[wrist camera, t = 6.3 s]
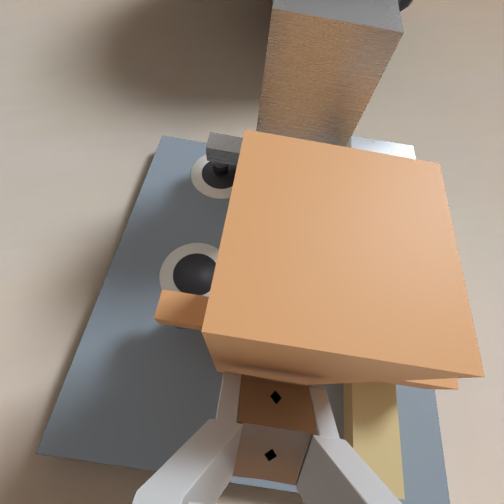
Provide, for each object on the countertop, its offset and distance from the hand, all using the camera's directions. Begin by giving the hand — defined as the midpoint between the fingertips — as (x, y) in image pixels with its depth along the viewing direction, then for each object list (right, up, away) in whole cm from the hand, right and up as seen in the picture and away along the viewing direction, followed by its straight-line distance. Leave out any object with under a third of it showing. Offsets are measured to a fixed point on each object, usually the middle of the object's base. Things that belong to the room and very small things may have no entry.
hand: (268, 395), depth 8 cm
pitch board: (0, +2, +8) cm, 8 cm away
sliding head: (+1, 0, +5) cm, 6 cm away
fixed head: (+3, +8, +10) cm, 13 cm away
